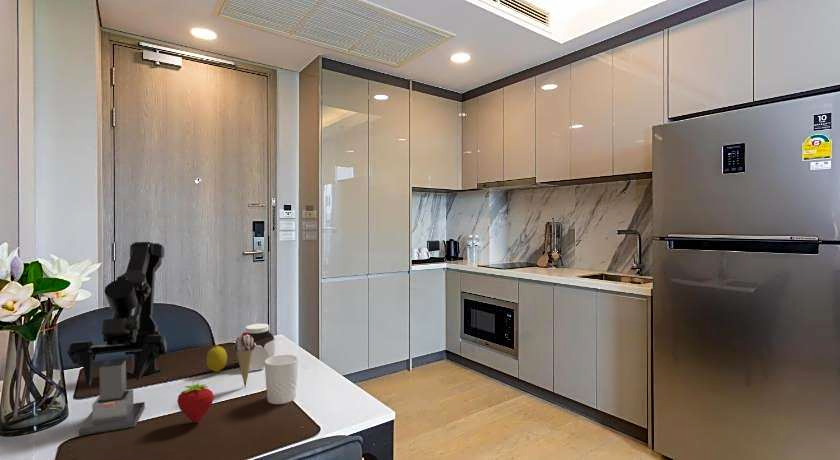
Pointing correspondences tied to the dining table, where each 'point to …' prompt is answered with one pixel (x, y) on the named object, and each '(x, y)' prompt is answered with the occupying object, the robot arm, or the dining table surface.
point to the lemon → (216, 359)
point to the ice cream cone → (244, 353)
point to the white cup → (281, 378)
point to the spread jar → (261, 345)
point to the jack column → (112, 380)
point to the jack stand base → (112, 415)
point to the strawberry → (195, 401)
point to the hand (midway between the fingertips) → (113, 382)
